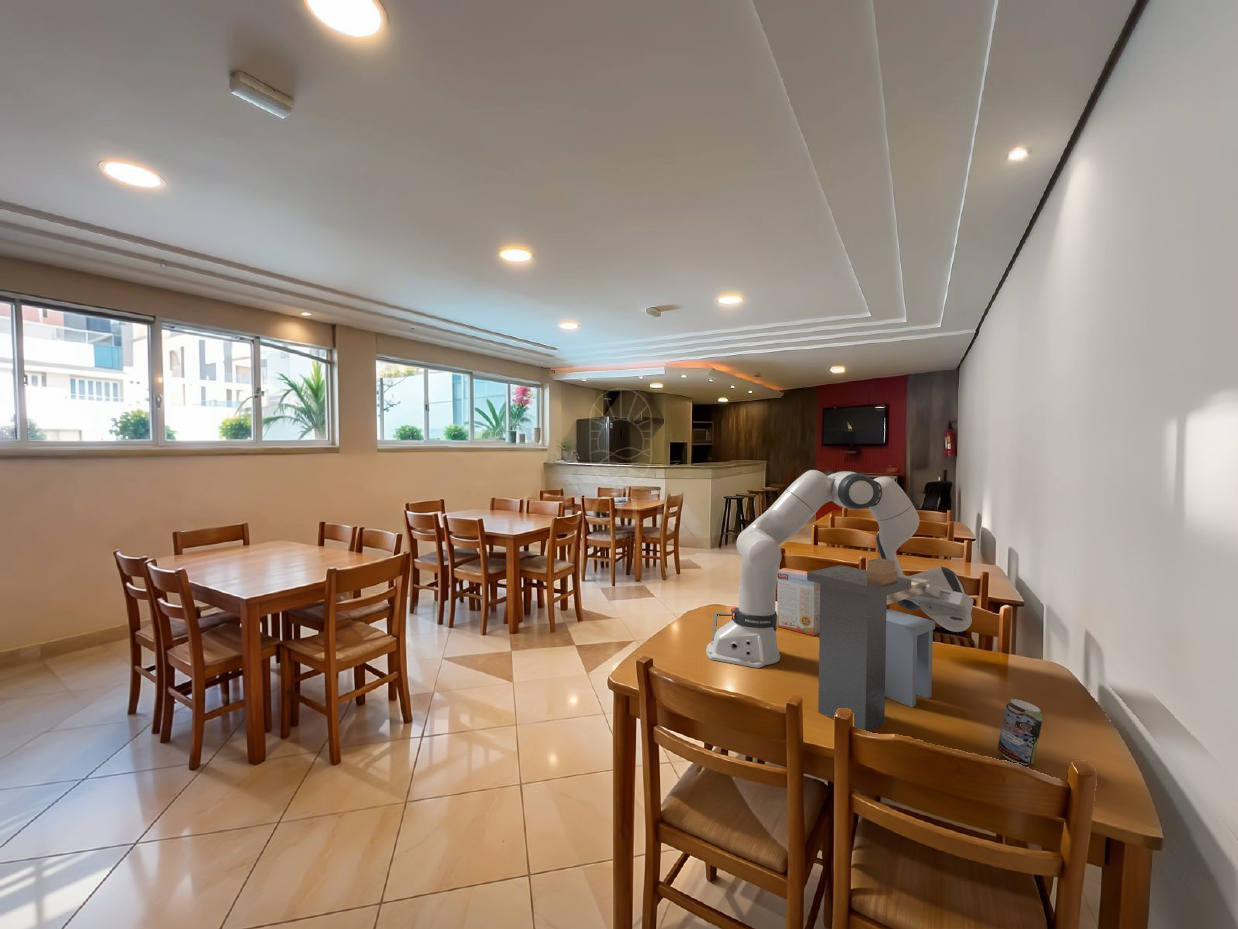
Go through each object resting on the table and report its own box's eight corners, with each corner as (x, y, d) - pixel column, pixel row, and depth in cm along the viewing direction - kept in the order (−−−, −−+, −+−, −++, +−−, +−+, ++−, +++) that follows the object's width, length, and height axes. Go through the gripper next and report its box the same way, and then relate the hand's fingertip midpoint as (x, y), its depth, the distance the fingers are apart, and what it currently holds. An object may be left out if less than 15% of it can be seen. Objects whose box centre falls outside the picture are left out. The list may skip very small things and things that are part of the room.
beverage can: (990, 752, 109) (991, 696, 109) (1022, 750, 110) (1023, 695, 110) (1015, 770, 103) (1016, 711, 103) (1049, 768, 104) (1051, 710, 103)
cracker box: (821, 632, 181) (822, 573, 180) (813, 637, 176) (814, 576, 176) (784, 622, 191) (785, 566, 190) (776, 626, 186) (777, 569, 186)
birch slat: (916, 588, 142) (916, 577, 142) (929, 591, 139) (929, 580, 139) (872, 601, 130) (872, 589, 130) (886, 605, 127) (886, 593, 127)
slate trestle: (887, 680, 143) (888, 609, 143) (933, 697, 133) (935, 621, 133) (867, 689, 138) (868, 615, 137) (913, 708, 128) (915, 628, 127)
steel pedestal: (838, 693, 135) (840, 546, 134) (908, 723, 121) (911, 558, 119) (805, 708, 128) (807, 551, 126) (875, 742, 113) (878, 565, 112)
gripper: (902, 584, 155) (881, 566, 148) (980, 600, 138) (960, 581, 131) (897, 604, 153) (875, 587, 147) (974, 623, 136) (954, 605, 130)
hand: (916, 584), depth 139 cm, fingers closed on birch slat, 3 cm apart
